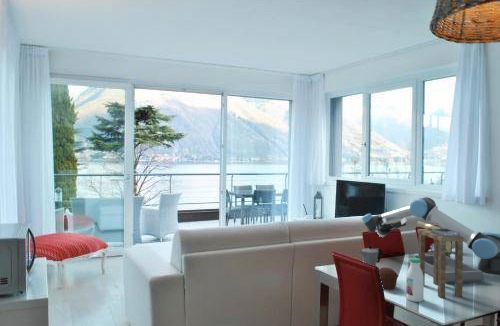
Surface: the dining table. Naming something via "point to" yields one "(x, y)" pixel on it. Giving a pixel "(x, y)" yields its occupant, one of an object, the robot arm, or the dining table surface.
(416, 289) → the milk bottle
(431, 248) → the passion flower
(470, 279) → the tray
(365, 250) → the coffeepot
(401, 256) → the dining table surface
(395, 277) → the muffin
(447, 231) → the hand shovel
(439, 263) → the stool
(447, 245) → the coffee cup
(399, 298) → the dining table surface
